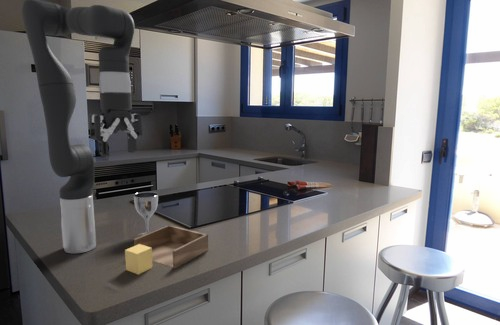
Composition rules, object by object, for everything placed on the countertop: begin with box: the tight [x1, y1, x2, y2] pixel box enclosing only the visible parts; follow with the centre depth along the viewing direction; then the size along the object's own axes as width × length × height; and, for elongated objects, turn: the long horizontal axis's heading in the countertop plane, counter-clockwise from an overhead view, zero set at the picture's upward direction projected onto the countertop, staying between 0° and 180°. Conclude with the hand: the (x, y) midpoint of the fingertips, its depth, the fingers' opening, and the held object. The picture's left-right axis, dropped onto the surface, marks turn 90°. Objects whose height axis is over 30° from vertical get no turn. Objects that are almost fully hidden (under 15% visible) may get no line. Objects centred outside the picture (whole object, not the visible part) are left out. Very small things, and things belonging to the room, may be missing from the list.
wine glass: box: [133, 191, 159, 236], centre depth 122 cm, size 8×8×15 cm
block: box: [124, 244, 154, 276], centre depth 97 cm, size 5×5×6 cm
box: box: [133, 224, 209, 269], centre depth 108 cm, size 17×15×6 cm
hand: (118, 154), depth 92 cm, fingers open, 8 cm apart
